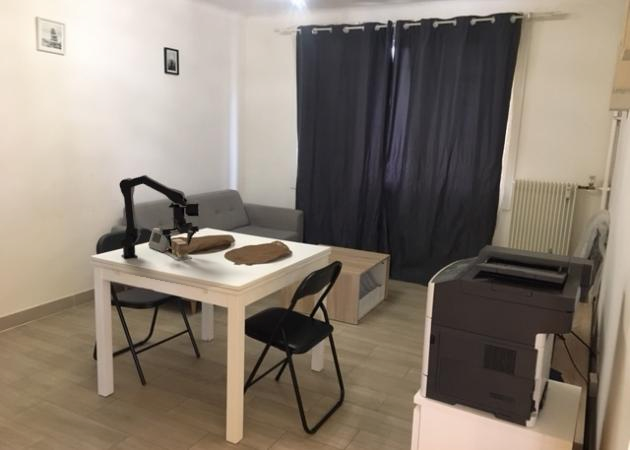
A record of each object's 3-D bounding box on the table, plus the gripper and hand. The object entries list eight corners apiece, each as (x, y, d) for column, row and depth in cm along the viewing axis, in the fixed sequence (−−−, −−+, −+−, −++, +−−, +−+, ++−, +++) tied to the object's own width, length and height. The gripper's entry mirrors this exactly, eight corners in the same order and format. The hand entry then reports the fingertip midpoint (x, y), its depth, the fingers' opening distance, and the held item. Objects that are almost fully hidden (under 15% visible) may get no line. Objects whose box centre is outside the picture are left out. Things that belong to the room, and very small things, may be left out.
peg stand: (168, 254, 261) (168, 249, 261) (183, 253, 266) (183, 247, 265) (176, 260, 251) (176, 254, 251) (191, 258, 256) (191, 252, 255)
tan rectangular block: (171, 248, 261) (171, 239, 260) (180, 247, 264) (179, 238, 263) (179, 254, 252) (179, 244, 251) (188, 253, 254) (187, 243, 253)
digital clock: (147, 247, 276) (146, 228, 274) (163, 245, 281) (163, 226, 279) (156, 253, 263) (155, 233, 261) (173, 251, 268) (173, 232, 266)
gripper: (165, 220, 243) (166, 252, 246) (202, 217, 253) (203, 247, 256) (158, 216, 252) (159, 247, 255) (194, 213, 262) (195, 242, 265)
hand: (179, 246), depth 257 cm, fingers open, 9 cm apart
